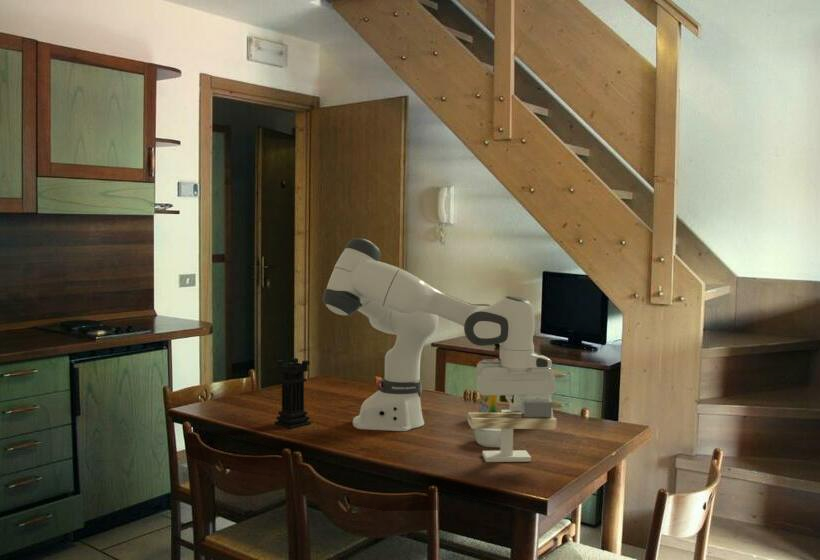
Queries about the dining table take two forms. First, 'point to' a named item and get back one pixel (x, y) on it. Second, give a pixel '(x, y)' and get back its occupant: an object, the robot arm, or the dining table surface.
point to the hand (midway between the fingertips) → (515, 411)
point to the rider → (536, 408)
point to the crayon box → (488, 403)
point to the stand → (506, 449)
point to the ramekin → (488, 437)
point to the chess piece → (292, 394)
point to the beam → (509, 421)
